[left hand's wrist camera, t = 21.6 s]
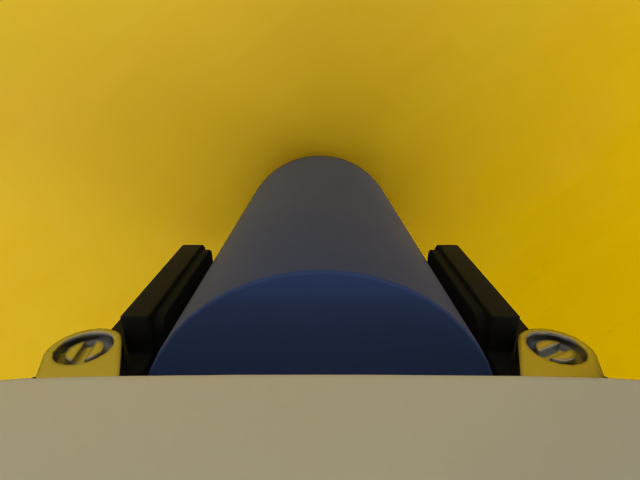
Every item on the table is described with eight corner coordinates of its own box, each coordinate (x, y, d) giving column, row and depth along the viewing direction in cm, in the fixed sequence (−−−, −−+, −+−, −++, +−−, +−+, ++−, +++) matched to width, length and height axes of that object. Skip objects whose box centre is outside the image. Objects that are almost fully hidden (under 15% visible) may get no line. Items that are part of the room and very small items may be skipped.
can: (246, 152, 16) (120, 262, 6) (399, 159, 16) (537, 279, 6) (248, 289, 18) (159, 546, 8) (383, 294, 18) (466, 555, 8)
